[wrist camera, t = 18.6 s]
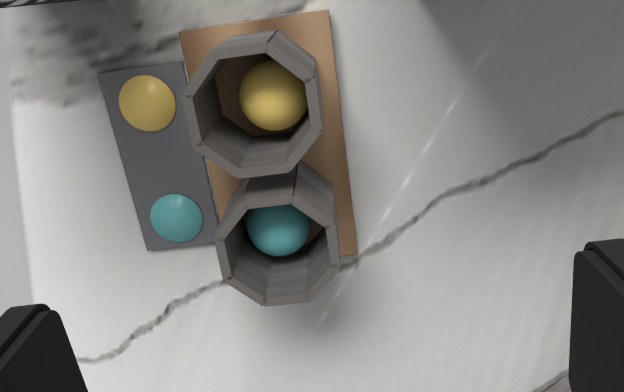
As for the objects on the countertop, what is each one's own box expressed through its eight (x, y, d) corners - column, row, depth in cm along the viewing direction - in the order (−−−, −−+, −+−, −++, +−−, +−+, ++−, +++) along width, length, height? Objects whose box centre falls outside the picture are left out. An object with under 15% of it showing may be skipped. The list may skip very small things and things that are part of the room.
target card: (182, 61, 38) (180, 62, 37) (222, 239, 43) (220, 243, 42) (99, 72, 38) (96, 74, 38) (148, 248, 43) (146, 251, 43)
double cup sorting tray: (328, 9, 36) (329, 18, 29) (356, 246, 43) (364, 304, 35) (182, 30, 37) (146, 44, 29) (233, 261, 44) (214, 321, 36)
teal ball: (310, 180, 39) (299, 209, 35) (318, 233, 41) (309, 267, 37) (250, 184, 40) (233, 213, 36) (261, 236, 42) (246, 270, 38)
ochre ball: (289, 51, 37) (314, 56, 33) (298, 115, 39) (324, 128, 35) (225, 63, 36) (243, 71, 32) (238, 130, 37) (257, 144, 33)
